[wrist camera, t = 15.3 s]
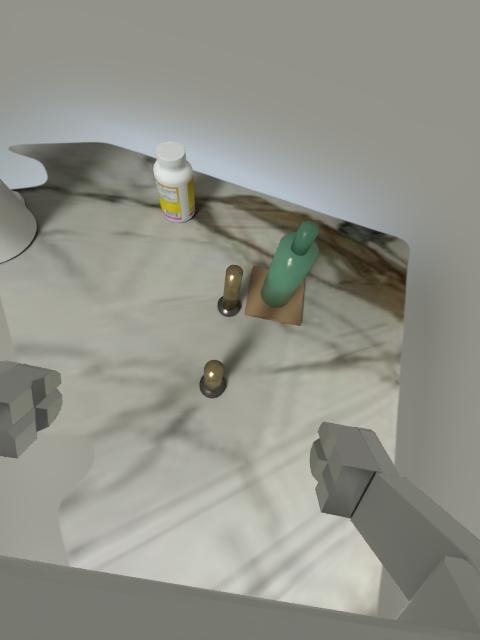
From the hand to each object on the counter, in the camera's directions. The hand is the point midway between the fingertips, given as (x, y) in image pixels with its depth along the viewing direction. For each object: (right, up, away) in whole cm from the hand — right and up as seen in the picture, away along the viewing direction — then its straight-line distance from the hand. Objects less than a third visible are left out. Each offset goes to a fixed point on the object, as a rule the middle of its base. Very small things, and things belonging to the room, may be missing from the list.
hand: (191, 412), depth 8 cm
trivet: (+8, +7, +41) cm, 42 cm away
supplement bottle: (-11, +25, +46) cm, 54 cm away
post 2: (0, +5, +39) cm, 39 cm away
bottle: (+8, +8, +40) cm, 41 cm away
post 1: (-3, -7, +33) cm, 34 cm away
